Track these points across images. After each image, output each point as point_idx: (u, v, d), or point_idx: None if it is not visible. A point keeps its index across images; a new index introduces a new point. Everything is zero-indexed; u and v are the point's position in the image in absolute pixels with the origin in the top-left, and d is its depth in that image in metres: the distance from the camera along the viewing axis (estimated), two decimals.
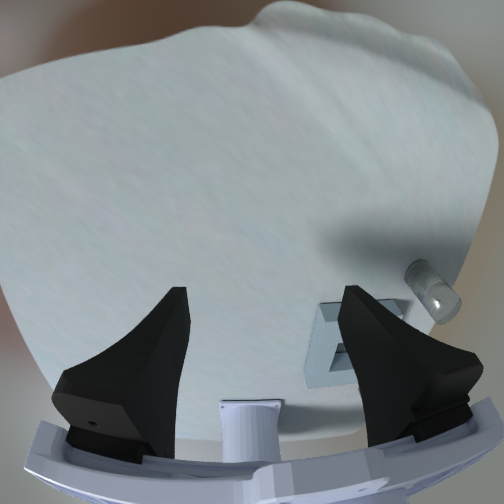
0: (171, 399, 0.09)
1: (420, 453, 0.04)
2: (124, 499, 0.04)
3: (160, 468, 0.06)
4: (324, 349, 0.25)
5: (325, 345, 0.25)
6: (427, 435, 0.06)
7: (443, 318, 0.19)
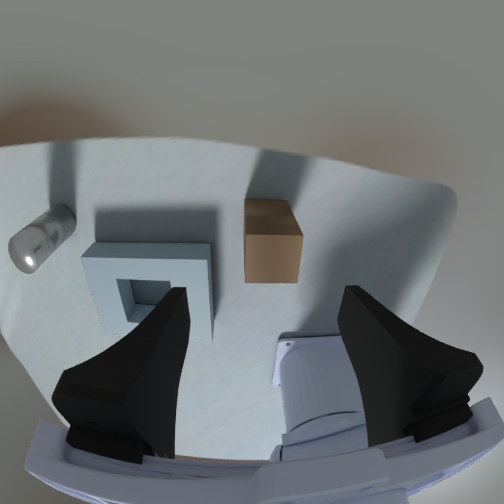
0: (171, 399, 0.09)
1: (420, 453, 0.04)
2: (123, 499, 0.04)
3: (160, 468, 0.06)
4: None
5: None
6: (427, 435, 0.06)
7: (30, 258, 0.15)
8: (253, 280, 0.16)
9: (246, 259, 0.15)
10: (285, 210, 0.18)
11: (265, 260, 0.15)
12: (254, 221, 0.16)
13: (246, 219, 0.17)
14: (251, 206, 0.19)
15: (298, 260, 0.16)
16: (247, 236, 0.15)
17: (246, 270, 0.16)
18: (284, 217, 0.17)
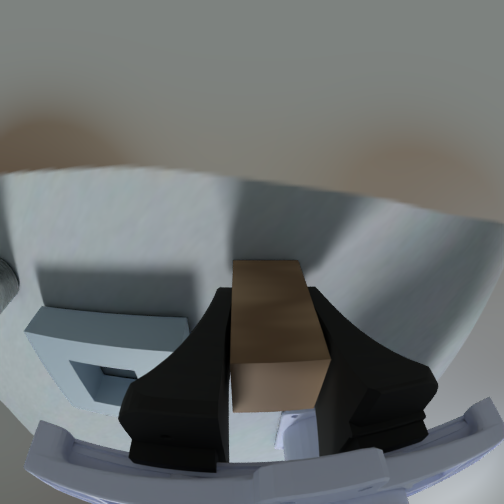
0: (227, 402, 0.09)
1: (420, 453, 0.04)
2: (123, 499, 0.04)
3: (237, 473, 0.06)
4: (109, 412, 0.16)
5: (102, 410, 0.16)
6: None
7: None
8: (246, 409, 0.09)
9: (233, 390, 0.08)
10: (297, 288, 0.11)
11: (265, 391, 0.09)
12: (247, 321, 0.09)
13: (232, 316, 0.10)
14: (242, 279, 0.12)
15: (318, 387, 0.09)
16: (232, 365, 0.08)
17: (234, 401, 0.09)
18: (296, 305, 0.10)
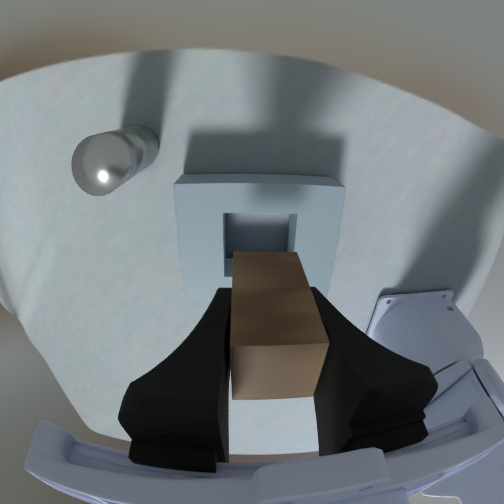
0: (227, 402, 0.09)
1: (420, 453, 0.04)
2: (123, 499, 0.04)
3: (236, 473, 0.06)
4: None
5: None
6: None
7: (110, 169, 0.12)
8: (246, 396, 0.09)
9: (232, 375, 0.09)
10: (296, 277, 0.11)
11: (264, 377, 0.09)
12: (247, 307, 0.10)
13: (232, 302, 0.10)
14: (242, 268, 0.12)
15: (317, 373, 0.09)
16: (232, 348, 0.08)
17: (233, 387, 0.09)
18: (295, 293, 0.10)
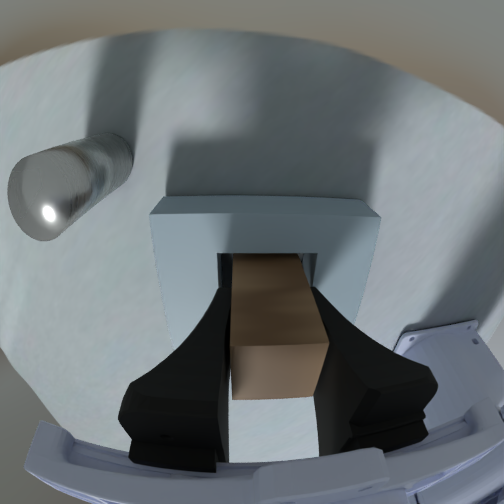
0: (227, 402, 0.09)
1: (420, 453, 0.04)
2: (123, 498, 0.04)
3: (236, 474, 0.06)
4: None
5: None
6: None
7: (52, 205, 0.07)
8: (246, 396, 0.09)
9: (232, 375, 0.09)
10: (296, 277, 0.11)
11: (264, 376, 0.09)
12: (247, 307, 0.10)
13: (232, 302, 0.10)
14: (242, 268, 0.12)
15: (317, 372, 0.09)
16: (232, 348, 0.08)
17: (233, 387, 0.09)
18: (295, 292, 0.10)
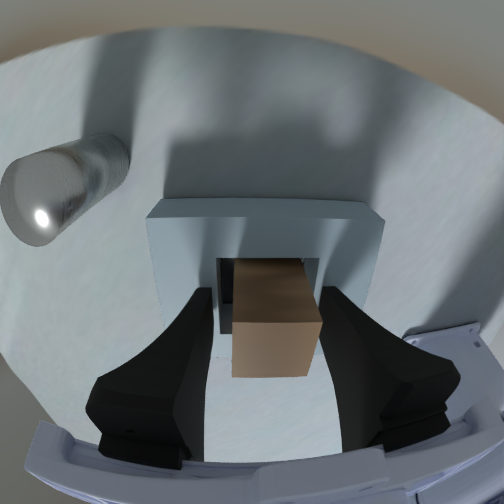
0: (201, 401, 0.09)
1: (420, 453, 0.04)
2: (124, 499, 0.04)
3: (201, 472, 0.06)
4: None
5: (224, 350, 0.14)
6: (396, 445, 0.06)
7: (45, 209, 0.07)
8: (244, 374, 0.10)
9: (233, 352, 0.10)
10: (293, 265, 0.12)
11: (262, 354, 0.10)
12: (247, 289, 0.11)
13: (235, 285, 0.11)
14: None
15: (311, 352, 0.10)
16: (234, 324, 0.09)
17: (233, 364, 0.10)
18: (292, 278, 0.11)
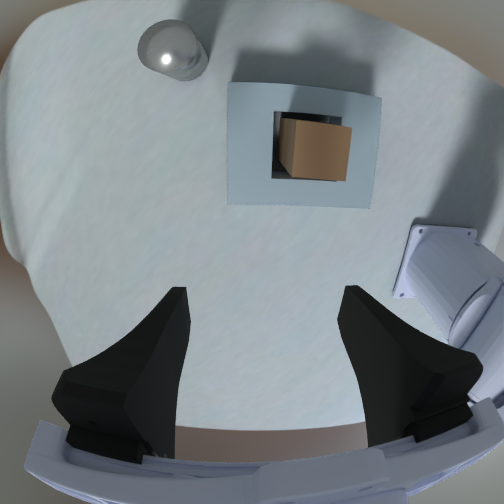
0: (171, 399, 0.09)
1: (420, 453, 0.04)
2: (123, 499, 0.04)
3: (160, 468, 0.06)
4: (281, 196, 0.18)
5: (273, 196, 0.18)
6: (427, 435, 0.06)
7: (180, 47, 0.11)
8: (301, 173, 0.14)
9: (295, 148, 0.14)
10: None
11: (314, 151, 0.14)
12: None
13: (290, 119, 0.15)
14: None
15: (347, 154, 0.14)
16: (297, 122, 0.13)
17: (294, 161, 0.14)
18: None
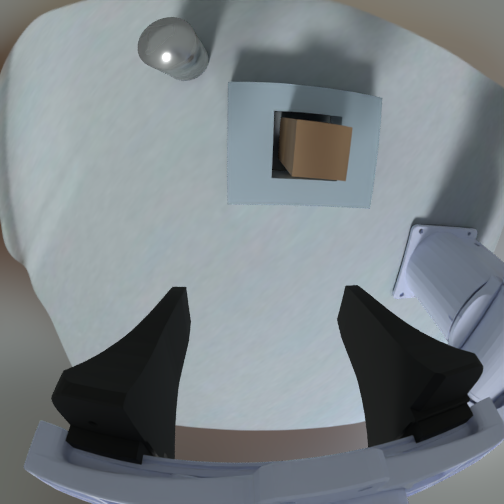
0: (171, 399, 0.09)
1: (420, 453, 0.04)
2: (123, 499, 0.04)
3: (160, 468, 0.06)
4: (281, 196, 0.18)
5: (273, 196, 0.18)
6: (427, 435, 0.06)
7: (180, 44, 0.11)
8: (301, 173, 0.14)
9: (295, 147, 0.14)
10: None
11: (315, 151, 0.14)
12: None
13: (290, 118, 0.15)
14: None
15: (347, 154, 0.14)
16: (298, 121, 0.13)
17: (294, 161, 0.14)
18: None
